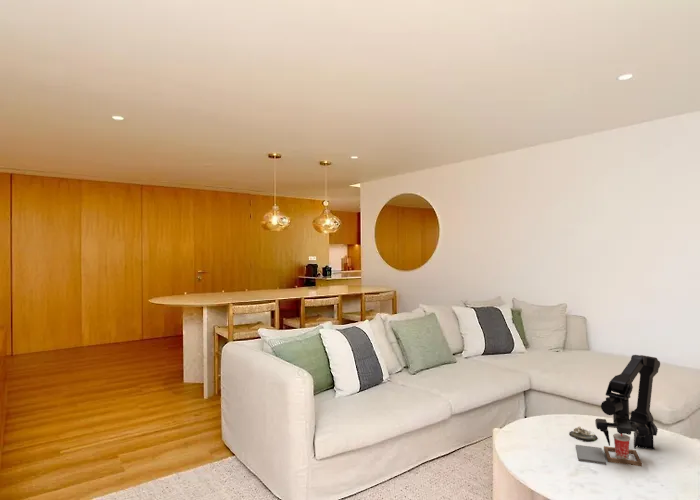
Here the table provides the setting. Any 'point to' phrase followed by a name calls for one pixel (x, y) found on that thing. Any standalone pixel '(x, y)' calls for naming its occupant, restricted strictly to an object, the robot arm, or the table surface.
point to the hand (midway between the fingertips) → (621, 446)
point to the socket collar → (623, 461)
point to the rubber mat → (590, 454)
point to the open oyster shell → (583, 435)
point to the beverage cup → (621, 445)
